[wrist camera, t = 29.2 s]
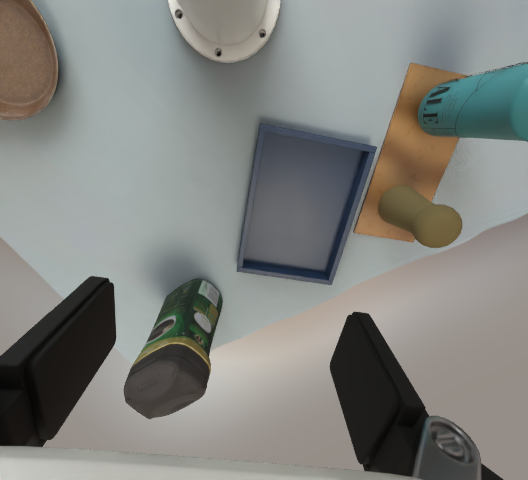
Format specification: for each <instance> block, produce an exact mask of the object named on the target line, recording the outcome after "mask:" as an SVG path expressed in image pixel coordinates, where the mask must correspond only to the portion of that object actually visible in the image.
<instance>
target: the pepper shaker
mask: <svg viewBox="0 0 528 480" xmlns="http://www.w3.org/2000/svg"><path fill="white" fill-rule="evenodd" d="M378 213H379V215H380V217H381V219H383V220H384V221H385V222H387V223H389V224H392V225H394V226H396V227H399V228H401V229H403V230H406V231H408V232H410V233H412V234H413V236H414V237H415V239H416V240H417V241H418V242H419V243H421V244H422V245H424V246H427V247H431V248H440V247H444V246H447V245H449V244H451V243H452V242H453V241H454V240H456V239H457V237H458V236H459V234H460V233H461V230H462V219H461V217H460V214H459V213H458V212H456V211H455V210H454V209H453V208H451V207H449V206H446V205H435V204H433V203H432V202H430V201H429V200H428V199H426V198H425V197H423V196H422V195H421V194H419V193H418V192H417V191H415V190H414V189H412V188H411V187H408V186H406V185H398V186H395V187H392V188H391V189H389V190H388V191H386V192H385V193H384V194H383V196H382V197H381V199H380V201H379V204H378Z"/></svg>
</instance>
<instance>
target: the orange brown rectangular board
mask: <svg viewBox="0 0 528 480" xmlns="http://www.w3.org/2000/svg"><path fill="white" fill-rule="evenodd" d="M464 76H465V77H467V76H466V75H461V74H457V73H453V72H448V71H444V70H440V69H436V68H431V67H427V66H423V65H419V64H414V63H411V64H410V66H409V69H408V72H407V75H406V78H405V81H404V84H403V87H402V90H401V93H400V96H399V99H398V102H397V105H396V108H395V110H394V113H393V116H392V119H391V122H390V125H389V128H388V131H387V134H386V137H385V140H384V143H383V146H382V149H381V152H380V155H379V158H378V161H377V164H376V167H375V170H374V173H373V176H372V179H371V182H370V185H369V188H368V191H367V194H366V197H365V200H364V203H363V206H362V209H361V212H360V215H359V217H358V220H357V223H356V226H355V229H354V233H359V234H365V235H372V236H378V237H384V238H390V239H396V240H402V241H408V242H414V240H415V237H414V236H413V234H412V233H410V232H408V231H406V230H403V229H401V228H399V227H396V226H394V225H392V224H389V223H387V222H385V221H384V220H383V219H381V217H380V215H379V213H378V204H379V201H380V199H381V197H382V196H383V194H384V193H385V192H386V191H388V190H389V189H391V188H392V187H395V186H398V185H406V186H408V187H411V188H412V189H414V190H415V191H417V192H418V193H419V194H421V195H422V196H423V197H425V198H426V199H428V200H429V201H430V202H431V201H432V199H433V197H434V194H435V192H436V190H437V187H438V185H439V183H440V181H441V178H442V176H443V174H444V171H445V169H446V167H447V165H448V162H449V160H450V158H451V155H452V153H453V151H454V149H455V146H456V144H457V142H458V139H459V137H448V138H446V137H440V136H432V135H429V134H428V135H427V133H426V132H425V131H423V129H422V128H421V127H420V125H419V121H418V110H419V107H420V104H421V102H422V100H423V99H424V97H425V96H426V95H427V94H428V92H429V91H430V90H432V88H433V87H434V88H435V87H436V86H438V85H439V83H440V84H442V83H445V82H448V80H449V81H451V79H453V81H454V79H456V78H457V79H462V78H464ZM460 77H461V78H460ZM431 136H432V137H431Z"/></svg>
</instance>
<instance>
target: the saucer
mask: <svg viewBox="0 0 528 480" xmlns="http://www.w3.org/2000/svg"><path fill="white" fill-rule="evenodd" d="M58 71H59V69H58V57H57V52H56V48H55V45H54V41H53V39H52V36H51V33H50V31H49V29H48V26H47V24H46V22H45V20H44V19H43V17H42V15H41V14H40V12H39V11H38V9H37V8H36V6H35V5H34V4H33V2H32V1H31V0H0V119H2V120H21V119H25V118H29V117H31V116H33V115H35V114H37V113H39V112H40V111H42V110H43V109H44V108H45V107H46V106H47V105H48V103H49V102H50V100H51V99H52V97H53V95H54V92H55V89H56V86H57V81H58Z"/></svg>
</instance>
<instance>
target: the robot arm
mask: <svg viewBox="0 0 528 480" xmlns="http://www.w3.org/2000/svg"><path fill="white" fill-rule="evenodd" d="M168 3H169V8H170V11H171V14H172V17H173V19H174V22H175V24H176V25H177V27H178V29H179V31H180V33H181V34H182V35H183V37H184V38H185V40H186V41H187V42H188V43H189V44H190V45H191V46H192V47H193V48H194V49H195V50H196V51H198V52H199V53H200V54H201V55H203V56H205V57H207V58H209V59H211V60H214V61H218V62H221V63H234V62H239V61H242V60H245V59H247V58H249V57H251V56H252V55H254V54H255V53H257V52H258V51H259V50H260V49H261V48H262V47H263V46H264V45H265V44H266V42H267V41H268V39H269V37H270V36H271V34H272V32H273V30H274V27H275V25H276V22H277V18H278V15H279V10H280V3H281V0H168ZM179 15H182V18H181V19H179ZM262 33H263V34H264V37H263V38H261V37H260V34H262ZM218 52H221V56H218V55H217V53H218ZM115 341H116V322H115V300H114V284H113V283H110V281H109V279H108V278H102V277H95V276H90V277H89V278H88V279H87V280H85V281H84V282H83V283H82V284H81V285H80V286H79V287H78V288H77V289H75V290H74V291H73V292H72V293H71V294H70V295H69V296H68V297H67V298H65V299H64V300H63V301H62V302H61V303H60V304H59V305H58V306H57V307H55V308H54V309H53V310H52V311H51V312H49V313H48V314H47V315H46V316H45V317H44V318H43V319H41V320H40V321H39V322H38V323H37V324H36V325H35V326H34V327H32V328H31V329H30V330H29V331H28V332H27V333H26V334H25V335H23V336H22V337H21V338H20V339H19V340H18V341H17V342H16V343H15V344H14V345H12V346H11V347H10V348H9V349H8V350H7V351H6V352H5V353H3V355H1V356H0V480H503V479H502V478H500V477H499V476H498V475H496V474H495V473H494V472H492V471H491V470H490V469H488V468H487V467H486V466H484V465H483V464H482V463H481V458H480V453H479V451H478V449H477V447H476V445H475V444H474V442H473V441H472V440H471V438H470V437H469V436H468V435H467V434H466V433H465V432H464V431H463V430H462V429H461V428H460V427H459V426H457V425H456V424H455V423H453V422H451V421H450V420H448V419H445V418H443V417H440V416H430V417H429V415H428V413H427V412H426V410H425V406H424V404H423V403H422V401H421V399H420V398H419V396H418V394H417V393H416V391H415V390H414V388H413V386H412V384H411V383H410V381H409V379H408V378H407V376H406V374H405V373H404V371H403V369H402V368H401V366H400V364H399V363H398V361H397V359H396V358H395V356H394V354H393V353H392V351H391V349H390V348H389V346H388V345H387V343H386V341H385V339H384V338H383V336H382V334H381V333H380V331H379V329H378V328H377V326H376V325H375V323H374V321H373V320H372V318H371V316H370V315H369V314H367V313H361V312H353V313H352V315H348V317H347V319H346V322H345V325H344V327H343V330H342V333H341V336H340V338H339V341H338V343H337V346H336V348H335V351H334V354H333V357H332V359H331V362H330V371H331V374H332V378H333V381H334V384H335V388H336V391H337V394H338V398H339V401H340V404H341V408H342V411H343V414H344V418H345V421H346V424H347V428H348V431H349V434H350V437H351V441H352V444H353V447H354V451H355V454H356V457H357V460H358V462H359V463H360V464H363V467H364V470H365V471H358V470H349V469H337V468H324V467H313V466H300V465H289V464H277V463H264V462H251V461H238V460H225V459H211V458H199V457H185V456H172V455H158V454H143V453H129V452H115V451H100V450H87V449H69V448H49V447H43V445H44V444H45V442H46V441H47V440H51V439H53V437H54V436H55V435H56V434H57V432H58V431H59V429H60V428H61V426H62V425H63V423H64V422H65V420H66V418H67V417H68V415H69V414H70V412H71V411H72V409H73V408H74V406H75V405H76V403H77V402H78V400H79V398H80V397H81V395H82V394H83V392H84V391H85V389H86V388H87V386H88V385H89V383H90V382H91V380H92V379H93V377H94V375H95V374H96V372H97V371H98V369H99V368H100V366H101V365H102V363H103V362H104V360H105V359H106V357H107V356H108V354H109V352H110V351H111V349H112V348H113V346H114V344H115Z"/></svg>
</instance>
